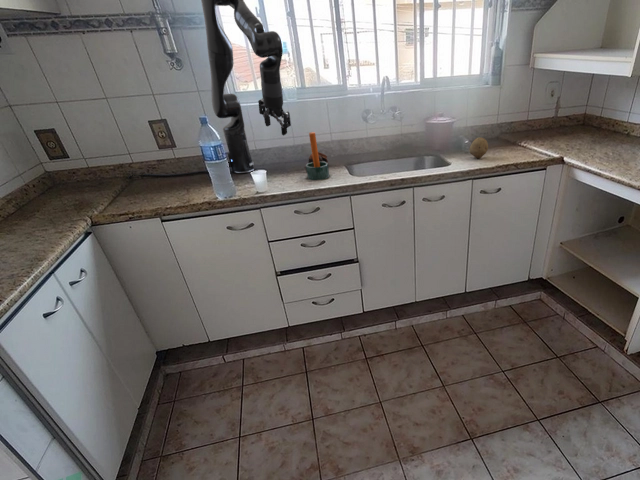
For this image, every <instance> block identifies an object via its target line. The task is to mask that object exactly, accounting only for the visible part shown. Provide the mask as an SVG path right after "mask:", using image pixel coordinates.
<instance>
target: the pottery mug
mask: <svg viewBox="0 0 640 480" xmlns="http://www.w3.org/2000/svg"><path fill="white" fill-rule="evenodd" d="M318 156H319V162H327V163H328V164H329V161H328V155H326V154H324V153H322V152H320V151H318ZM312 162H313V156H312V153H311V154H310V155H309V157H308V163H312ZM308 163H307V164H308Z"/></svg>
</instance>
